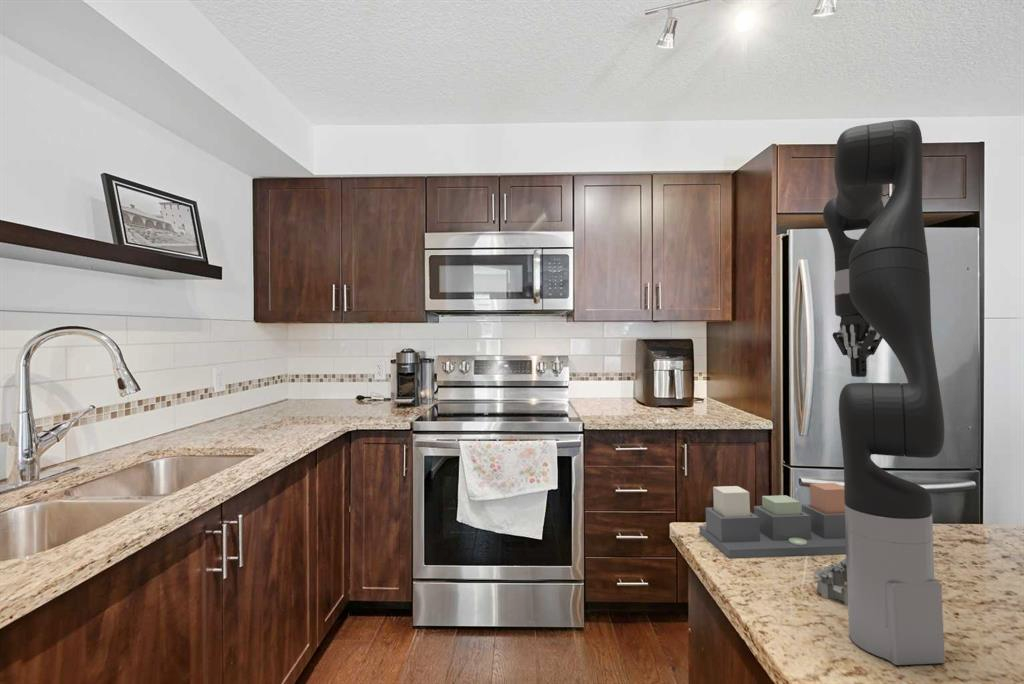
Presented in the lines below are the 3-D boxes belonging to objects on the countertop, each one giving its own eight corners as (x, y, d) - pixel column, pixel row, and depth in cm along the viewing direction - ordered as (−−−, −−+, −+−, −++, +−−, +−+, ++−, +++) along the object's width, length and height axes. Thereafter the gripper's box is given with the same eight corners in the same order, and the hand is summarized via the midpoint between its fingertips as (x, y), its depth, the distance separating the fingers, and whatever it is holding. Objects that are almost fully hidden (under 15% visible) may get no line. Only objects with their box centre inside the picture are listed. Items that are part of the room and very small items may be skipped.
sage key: (801, 533, 104) (800, 501, 104) (776, 534, 104) (775, 502, 104) (787, 525, 109) (786, 495, 109) (763, 525, 109) (762, 496, 109)
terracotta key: (851, 520, 104) (850, 489, 104) (826, 521, 104) (825, 489, 104) (835, 512, 109) (834, 483, 109) (811, 513, 109) (809, 483, 109)
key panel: (878, 552, 99) (877, 520, 99) (729, 558, 98) (728, 525, 98) (830, 528, 113) (829, 499, 113) (699, 532, 112) (698, 503, 112)
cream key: (750, 523, 103) (749, 492, 104) (724, 524, 103) (723, 493, 103) (738, 515, 108) (737, 485, 109) (714, 516, 108) (713, 486, 108)
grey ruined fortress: (859, 613, 77) (858, 585, 77) (808, 594, 84) (807, 567, 84) (897, 595, 82) (896, 568, 83) (847, 578, 89) (846, 553, 89)
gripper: (897, 288, 104) (901, 377, 104) (851, 295, 117) (854, 375, 117) (860, 288, 104) (863, 378, 103) (818, 296, 117) (821, 375, 117)
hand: (858, 376), depth 110 cm, fingers closed
